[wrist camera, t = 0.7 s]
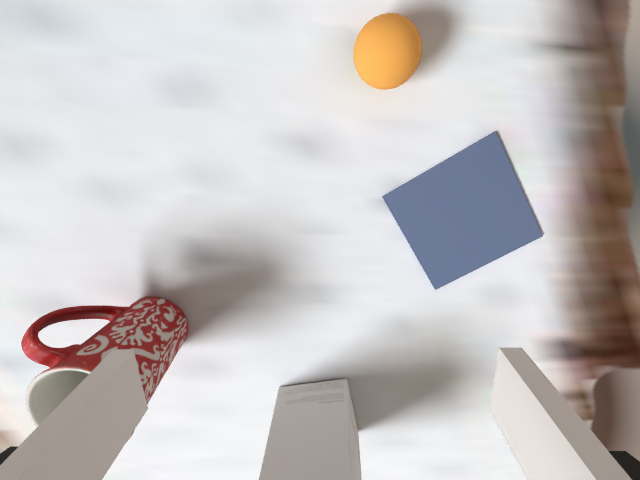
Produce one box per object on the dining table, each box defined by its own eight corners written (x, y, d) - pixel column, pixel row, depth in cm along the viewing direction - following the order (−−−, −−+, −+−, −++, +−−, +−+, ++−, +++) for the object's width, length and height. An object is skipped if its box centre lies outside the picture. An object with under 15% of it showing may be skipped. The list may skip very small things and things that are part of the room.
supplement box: (276, 385, 43) (247, 513, 29) (347, 376, 42) (353, 504, 28) (292, 440, 46) (272, 582, 31) (359, 432, 45) (370, 575, 31)
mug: (213, 327, 41) (156, 420, 28) (163, 368, 43) (90, 471, 30) (130, 251, 38) (26, 314, 25) (82, 298, 40) (-36, 378, 27)
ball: (340, 48, 31) (341, 32, 26) (395, 10, 30) (408, -15, 24) (370, 104, 32) (377, 100, 27) (424, 69, 31) (442, 58, 26)
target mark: (382, 196, 35) (382, 197, 35) (495, 131, 32) (496, 131, 32) (434, 289, 38) (435, 289, 38) (541, 235, 35) (542, 236, 35)
